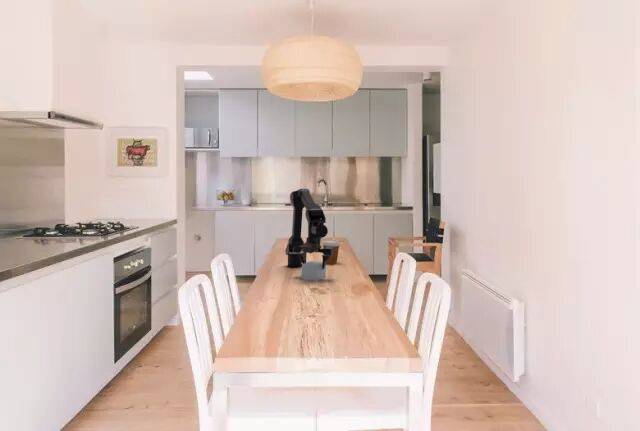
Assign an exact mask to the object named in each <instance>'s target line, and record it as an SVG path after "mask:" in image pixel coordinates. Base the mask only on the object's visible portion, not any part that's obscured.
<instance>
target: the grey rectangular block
mask: <svg viewBox="0 0 640 431" xmlns="http://www.w3.org/2000/svg"><path fill="white" fill-rule="evenodd" d="M322 263H323V261H315V260H309V261H306V263H304V264H303V263H302V266H301V280H304V281H312V282H314V281H315V282H318V281H320V280H322V279H324V278H327V277H326V276H327V268H326V267H327V265H326V266H325V268H324V270H323V269H322Z"/></svg>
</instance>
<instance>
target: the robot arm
mask: <svg viewBox="0 0 640 431" xmlns="http://www.w3.org/2000/svg"><path fill="white" fill-rule="evenodd" d="M289 200H290V204H291V205H292V207H293V210H292V211H293V213H292V228H291V230H292V231H291V235H290V237H289V238H288V242H287V244H286V247H285V250H284V251H285V255H286V256H287V265H286V267H287V268H301V267H302V264H304V263H307V254H312V253H322V255H321V256H322V262H323V263H322V269H323V270H324V268H325V266H326V267H327V264H326V263H327V261H328V259H329V257H330V256H332V254H335V249H334V248H333V247H326V248H323V247H322V245H321V240H322V239H323V238H325V237H326V236H327V235H328V233H329V228H328V227H327V226H326V225H325V224H326V223H327V222H326V220H327V218H326V215H325V212H324V210H323V208H322V207H321V206H320V205H319V204H316V202H315V201H314V198H313V197H312V195H311V192H310V189H309V188H299V189H297V190H293V191H291V193H290V194H289ZM304 208H305V214H304V215H305V219H306V221H307V237H306V241H305V242H304V239H303V237H302V224H303V223H302V222H303V210H304Z"/></svg>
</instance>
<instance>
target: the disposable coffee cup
mask: <svg viewBox="0 0 640 431" xmlns="http://www.w3.org/2000/svg"><path fill="white" fill-rule="evenodd" d="M340 245H341V243H340V241H339V240H323V241H322V249H323V248H326V247H333V248H334V249H335V254H332V256H330V257H329V259H328V261H327V263H326V265H328V266H329V265H331V266H332V265H337V262H338V256H339V249H340Z"/></svg>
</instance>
